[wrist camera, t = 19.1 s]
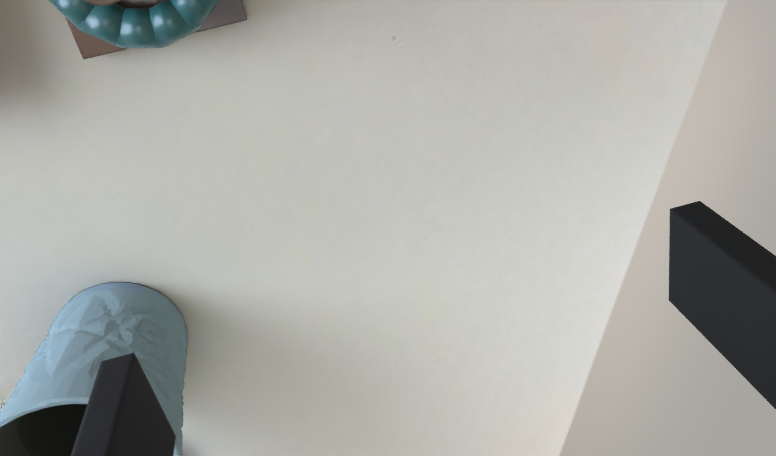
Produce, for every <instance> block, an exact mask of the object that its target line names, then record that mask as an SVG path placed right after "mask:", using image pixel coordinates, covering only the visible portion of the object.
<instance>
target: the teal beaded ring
mask: <svg viewBox="0 0 776 456" xmlns="http://www.w3.org/2000/svg"><path fill="white" fill-rule="evenodd" d="M49 1H50V2H51V3H52V4H53V5H54V6H55V7H56V8H57V9H58V10H59V11H60V12H61V13H62V14H63V15H64V16H65V17H66V18H67V19H68V20H69V21H70V22H71V23H72V24H73V25H74V26H76V27H77V28H78V29H79V30H80V31H82V32H84V33H86V34H89V35H91V36H93V37H96V38H98V39H101V40H103V41H105V42H108V43H110V44H112V45H115V46H117V47H120V48H162V47H166V46H168V45H170V44H172V43H174V42H176V41H178V40H180V39H182V38H184V37H186V36H188V35H190V34H191V33H193V32H195V31H197V30H198V29H199V28H200V27H201V26H202V25H203V23H204V22H205V20H206V19H207V17H208V16H209V15H210V13H211V12H212V10H213V9H214V7H215V6H216V4H217V3H218V2H219V0H164V1H162V2H160V3H158V4H157V5H155V6H153V7H151V8H125V7H123V6H121V5H118V4H116V3H114V4H111V5H106V6H99V5H94V4H90V3H88V2H86V1H84V0H49Z"/></svg>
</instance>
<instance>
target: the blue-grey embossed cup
mask: <svg viewBox="0 0 776 456" xmlns="http://www.w3.org/2000/svg"><path fill="white" fill-rule="evenodd" d="M187 343H188V335H187V328H186V325H185V321H184V319H183V317H182V315H181V313H180V311H179V310H178V309H177V307H176V306H175V305H174V304H173V303H172V302H171V301H170V300H169V299H168V298H166V297H165V296H164V295H162V294H161V293H159V292H157V291H155V290H153V289H151V288H148V287H145V286H142V285H138V284H133V283H125V282H115V283H104V284H101V285H97V286H94V287H91V288H89V289H86V290H84V291H82V292H81V293H79V294H78V295H76V296H75V297H73V298H72V299H71V300H70V301H69V302H68V303H67V304H66V305H65V306H64V307H63V308H62V310H61V311H60V313H59V315H58V316H57V318H56V320H55V321H54V323H53V325H52V326H51V328H50V330H49V332H48V338H47V339H45V340H44V341H43V343H42V344H41V346H39V347H38V349H37V351H36V353H35V355H34V357H33V358H32V360H31V361H30V363H29V364H28V366H27V368H26V370H25V372H24V375H23V377H22V378H21V379H20V381H19V383H18V384H17V386H16V388H15V390H14V391H13V393H12V394H11V396H10V398H9V399H8V401H7V402H6V403H5V405H4V406H3V408H2V409H1V411H0V456H71V453H72V450H73V447H74V444H75V441H76V438H77V435H78V432H79V428H80V425H81V422H82V419H83V416H84V413H85V410H86V407H87V404H88V401H89V398H90V395H91V391H92V388H93V385H94V382H95V379H96V376H97V373H98V370H99V367H100V364H101V361H104V360H108V359H112V358H116V357H119V356H123V355H127V354H130V353H135V355H136V357H137V359H138V361H139V363H140V365H141V367H142V369H143V371H144V373H145V375H146V377H147V379H148V381H149V383H150V385H151V387H152V389H153V391H154V393H155V395H156V397H157V399H158V401H159V403H160V405H161V407H162V409H163V411H164V413H165V415H166V417H167V419H168V421H169V423H170V425H171V427H172V429H173V431H174V433H175V435H176V440H175V447H174V453H173V456H182V430H181V428H182V426H183V404H184V403H183V396H182V392H183V389H184V377H185V372H186V367H185V365H186V354H187Z"/></svg>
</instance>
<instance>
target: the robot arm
mask: <svg viewBox="0 0 776 456" xmlns="http://www.w3.org/2000/svg"><path fill="white" fill-rule="evenodd" d="M669 252H670V254H669V256H670V258H669V301H670V302H671V303H672V304H673V305H674V306H675V307H676V308H677V309H678V310H679V311H680V312H681V313H682V314H683V315H684V316H685V317H686V318H687V319H688V320H689V321H690V322H691V323H692V324H693V325H694V326H695V327H696V328H697V329H698V330H699V331H700V332H701V333H702V334H703V335H704V336H705V337H706V339H707V340H708V341H709V342H710V343H711V344H712V345H713V346H714V347H715V348H716V349H717V350H718V351H719V352H720V353H721V354H722V355H723V356H724V357H725V358H726V359H727V360H728V361H729V362H730V363H731V364H732V365H733V366H734V367H735V368H736V369H737V370H738V371H739V372H740V373H741V374H742V375H743V376H744V377H745V378H746V379H747V380H748V381H749V382H750V383H751V384H752V386H754V388H755V389H756V390H757V391H758V392H759V393H760V394H761V395H762V396H763V397H764V398H765V399H767V401H768V402H769V403H770V404H771V405H772V406H773V407H774V408H775V409H776V256H775V255H773V254H772V253H771V252H769V251H768V250H767V249H765V248H764V247H762V246H761V245H760V244H758V243H757V242H755V241H754V240H753V239H751V238H750V237H749V236H747V235H746V234H744V233H743V232H742V231H740V230H739V229H738V228H736V227H735V226H733V225H732V224H731V223H729V222H728V221H727V220H725V219H724V218H722V217H721V216H720V215H718V214H717V213H716V212H714V211H713V210H711V209H710V208H709V207H707V206H706V205H704V204H703V203H702V202H700V201H698V202H694V203H690V204H687V205H683V206H679V207H675V208H672V209H670V251H669ZM175 440H176V435H175V433H174V431H173V429H172V427H171V425H170V423H169V421H168V419H167V417H166V415H165V413H164V411H163V409H162V407H161V405H160V403H159V401H158V399H157V397H156V395H155V393H154V391H153V389H152V387H151V385H150V383H149V381H148V379H147V377H146V375H145V373H144V371H143V369H142V367H141V365H140V363H139V361H138V359H137V357H136V355H135V353H130V354H127V355H123V356H119V357H116V358H112V359H108V360H104V361H101V364H100V367H99V370H98V373H97V376H96V379H95V382H94V385H93V388H92V391H91V395H90V398H89V401H88V404H87V407H86V410H85V413H84V416H83V419H82V422H81V425H80V428H79V432H78V435H77V438H76V441H75V444H74V447H73V450H72V453H71V456H173V453H174V447H175Z"/></svg>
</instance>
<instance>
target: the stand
mask: <svg viewBox="0 0 776 456" xmlns="http://www.w3.org/2000/svg"><path fill="white" fill-rule="evenodd" d="M84 1H86V2H88V3H90V4H94V5H99V6H106V5H111V4H114V3H116V4H118V5H121V6H123V7H125V8H151V7H153V6H155V5H157V4H158V3H160V2H162V1H164V0H84ZM66 20H67V22H68V24H69V27H70V29H71V31H72V34H73V36H74V38H75V41H76V43H77V45H78V48H79V50H80V52H81V55H82V57H83V59H87V58H92V57H96V56H100V55H104V54H108V53H112V52H116V51H121V50H125V49H129V48H120V47H117V46H115V45H112V44H110V43H108V42H105V41H103V40H101V39H98V38H96V37H93V36H91V35H89V34H86V33H84V32H82V31H80V30H79V29H78V28H77V27H76V26H74V25H73V24H72V23H71V22H70V21H69V20H68V19H67V18H66ZM245 20H247V12H246V8H245V5H244V1H243V0H219V2H218V3H217V4H216V6H215V7H214V9H213V10H212V12H211V13H210V15H209V16H208V17H207V19H206V20H205V22H204V23H203V25H202V26H201V27H200V28H199V29H198V30H197V31H195V32H199V31H203V30H207V29H212V28H216V27H220V26H224V25H228V24H232V23H236V22H241V21H245ZM195 32H193V33H195Z"/></svg>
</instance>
